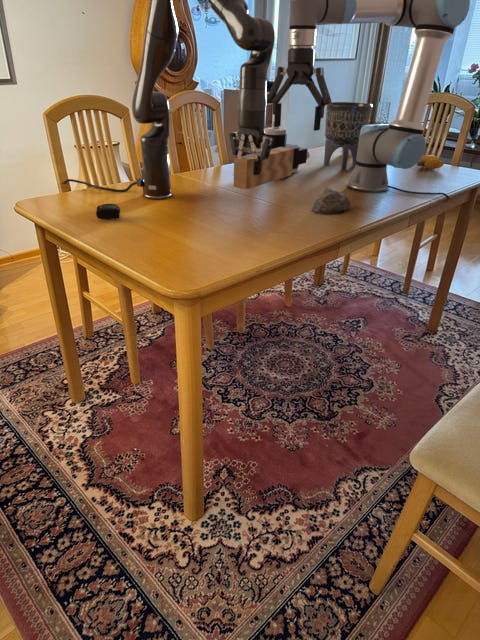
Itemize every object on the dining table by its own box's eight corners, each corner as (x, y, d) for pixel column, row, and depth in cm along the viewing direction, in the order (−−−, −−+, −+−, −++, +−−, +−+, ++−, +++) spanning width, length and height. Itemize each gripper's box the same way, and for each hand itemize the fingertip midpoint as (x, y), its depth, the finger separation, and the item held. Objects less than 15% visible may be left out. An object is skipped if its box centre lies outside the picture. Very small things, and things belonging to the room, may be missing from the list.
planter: (313, 167, 208) (319, 103, 195) (331, 160, 222) (338, 101, 209) (353, 173, 199) (362, 107, 185) (369, 166, 213) (379, 104, 199)
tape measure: (96, 222, 135) (94, 209, 133) (99, 215, 140) (97, 203, 139) (120, 221, 136) (118, 209, 134) (121, 214, 141) (120, 202, 139)
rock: (335, 203, 156) (338, 184, 153) (355, 209, 151) (359, 189, 148) (309, 210, 149) (311, 190, 145) (329, 217, 143) (332, 196, 140)
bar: (279, 172, 145) (281, 146, 141) (291, 174, 143) (294, 148, 139) (233, 186, 129) (234, 157, 125) (246, 189, 127) (247, 160, 122)
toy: (418, 162, 205) (412, 155, 217) (420, 176, 207) (414, 168, 220) (444, 154, 201) (436, 147, 214) (446, 168, 204) (438, 161, 217)
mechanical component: (240, 120, 182) (283, 115, 202) (239, 174, 192) (280, 164, 212) (283, 126, 170) (325, 120, 190) (280, 183, 180) (320, 171, 200)
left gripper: (222, 106, 121) (221, 171, 130) (265, 111, 114) (262, 179, 123) (239, 104, 127) (237, 167, 135) (282, 109, 119) (277, 175, 128)
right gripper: (257, 47, 131) (255, 126, 142) (337, 47, 119) (329, 133, 130) (270, 47, 137) (267, 123, 148) (348, 47, 125) (339, 130, 136)
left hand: (249, 173), depth 129 cm, fingers closed on bar, 4 cm apart
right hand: (296, 128), depth 139 cm, fingers open, 13 cm apart
